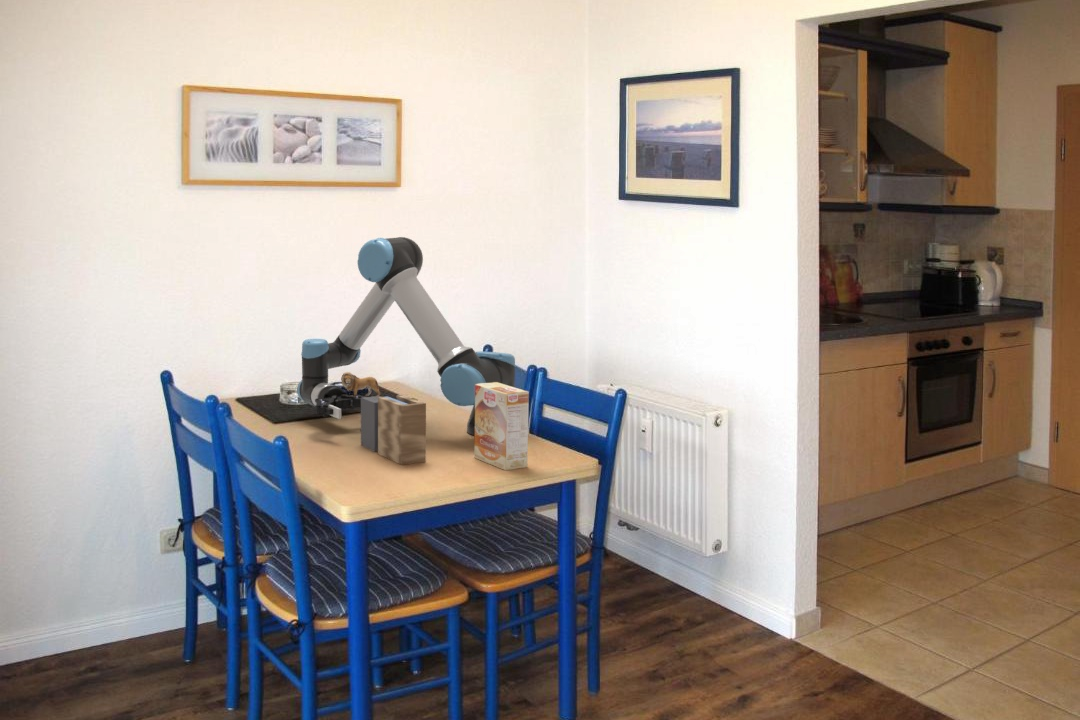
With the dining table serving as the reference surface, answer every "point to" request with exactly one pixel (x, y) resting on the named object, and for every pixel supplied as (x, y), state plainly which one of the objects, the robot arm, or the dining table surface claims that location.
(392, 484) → the dining table surface
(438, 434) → the dining table surface
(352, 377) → the lion figurine
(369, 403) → the block
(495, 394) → the coffeecake box
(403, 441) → the box
